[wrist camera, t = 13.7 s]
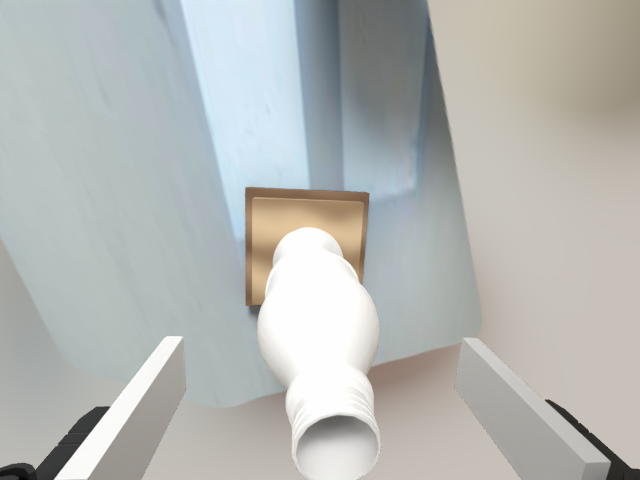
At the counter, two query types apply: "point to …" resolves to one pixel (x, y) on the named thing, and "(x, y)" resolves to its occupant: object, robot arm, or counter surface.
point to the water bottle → (322, 355)
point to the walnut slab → (298, 194)
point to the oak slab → (292, 214)
